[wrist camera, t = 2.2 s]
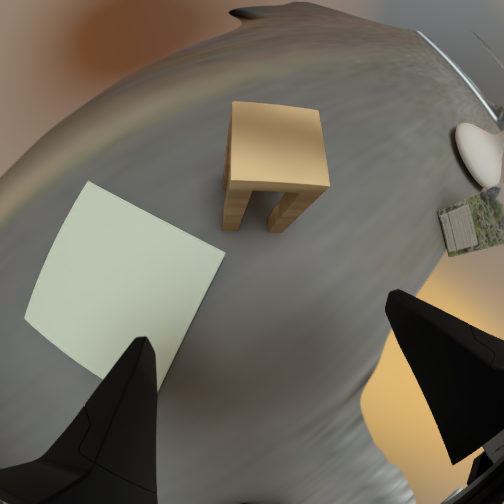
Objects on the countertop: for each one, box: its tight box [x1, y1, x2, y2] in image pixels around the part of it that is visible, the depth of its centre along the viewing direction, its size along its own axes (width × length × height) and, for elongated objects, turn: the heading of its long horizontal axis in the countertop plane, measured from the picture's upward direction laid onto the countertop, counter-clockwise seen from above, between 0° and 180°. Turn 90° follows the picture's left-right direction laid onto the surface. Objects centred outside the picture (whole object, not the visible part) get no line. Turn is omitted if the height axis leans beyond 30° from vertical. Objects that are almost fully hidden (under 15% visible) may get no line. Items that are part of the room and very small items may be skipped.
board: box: [24, 181, 226, 392], centre depth 20 cm, size 14×14×1 cm
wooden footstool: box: [222, 101, 330, 232], centre depth 18 cm, size 5×5×10 cm
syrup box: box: [438, 181, 504, 257], centre depth 19 cm, size 6×6×14 cm
